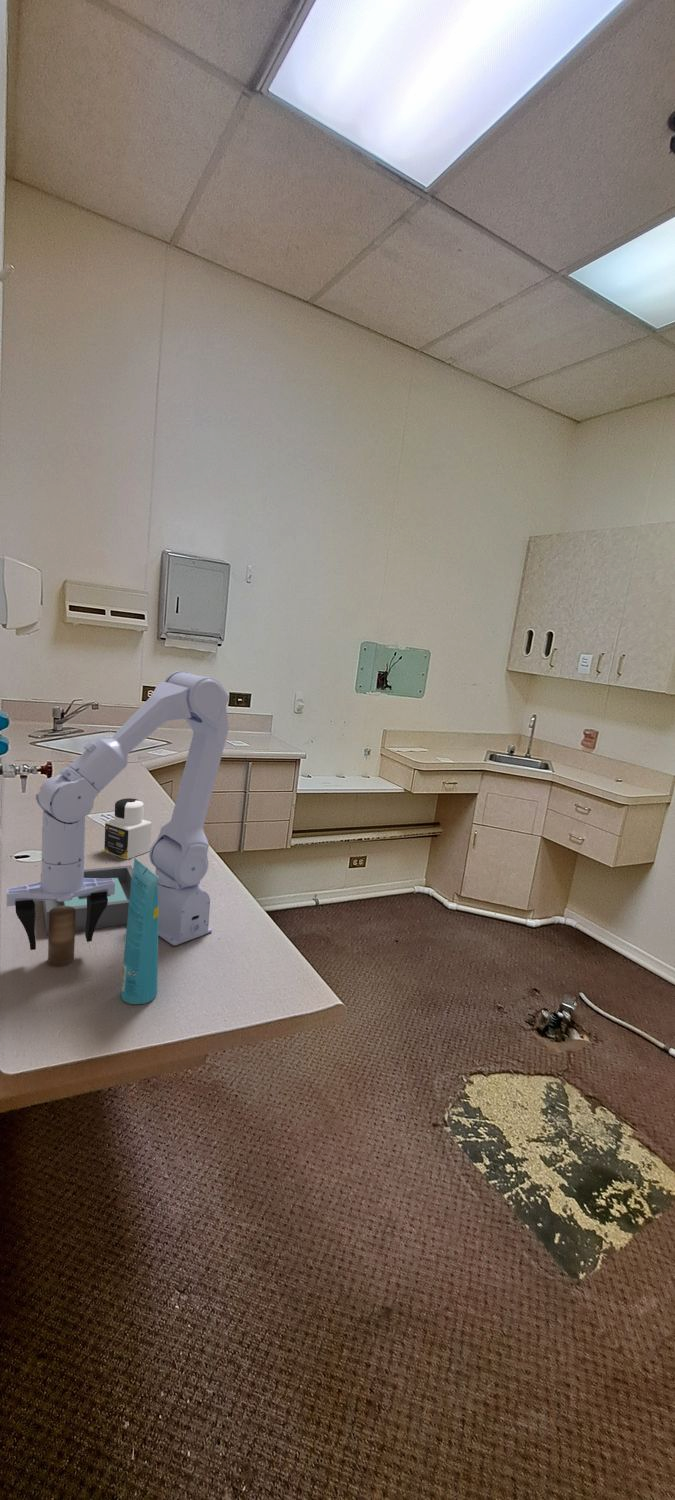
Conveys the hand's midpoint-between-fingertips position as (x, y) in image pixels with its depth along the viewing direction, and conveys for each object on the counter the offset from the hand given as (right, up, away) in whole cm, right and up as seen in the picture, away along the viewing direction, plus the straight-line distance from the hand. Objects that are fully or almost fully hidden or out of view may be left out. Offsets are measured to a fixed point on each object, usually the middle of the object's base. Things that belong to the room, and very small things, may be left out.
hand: (61, 942), depth 91 cm
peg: (0, -3, +1) cm, 3 cm away
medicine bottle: (-6, +6, +45) cm, 45 cm away
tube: (+14, -6, -6) cm, 16 cm away
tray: (-3, +1, +18) cm, 18 cm away
